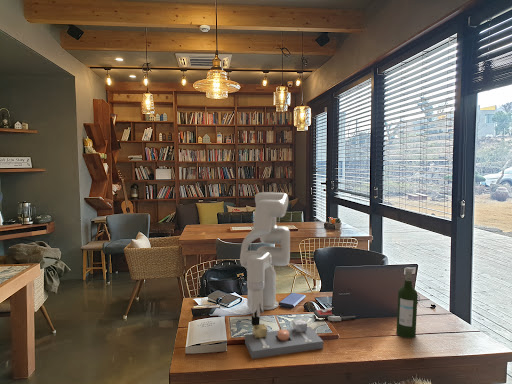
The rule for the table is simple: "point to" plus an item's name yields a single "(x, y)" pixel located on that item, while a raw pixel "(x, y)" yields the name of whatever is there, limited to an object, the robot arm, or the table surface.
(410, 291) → the wine bottle
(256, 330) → the brass slider
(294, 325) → the grey slider
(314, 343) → the grey slotted board
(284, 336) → the terracotta button
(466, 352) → the table surface
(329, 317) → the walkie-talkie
